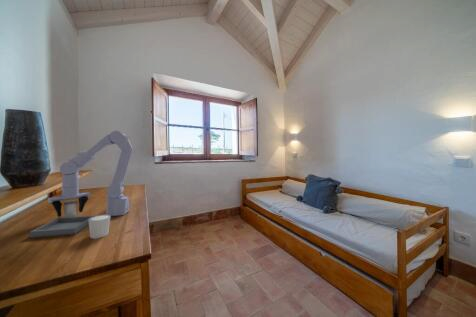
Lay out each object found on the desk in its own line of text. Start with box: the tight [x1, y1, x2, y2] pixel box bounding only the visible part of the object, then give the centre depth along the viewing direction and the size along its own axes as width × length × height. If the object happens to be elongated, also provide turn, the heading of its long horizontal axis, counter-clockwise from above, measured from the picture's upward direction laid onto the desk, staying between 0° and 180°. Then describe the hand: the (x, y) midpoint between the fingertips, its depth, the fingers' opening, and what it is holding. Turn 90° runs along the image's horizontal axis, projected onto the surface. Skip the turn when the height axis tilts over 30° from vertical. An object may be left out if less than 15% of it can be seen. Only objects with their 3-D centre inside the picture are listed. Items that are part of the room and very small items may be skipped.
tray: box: [29, 215, 96, 239], centre depth 71 cm, size 14×14×2 cm
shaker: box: [63, 200, 78, 217], centre depth 82 cm, size 5×5×8 cm
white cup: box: [88, 214, 111, 239], centre depth 66 cm, size 7×7×7 cm
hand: (70, 213), depth 82 cm, fingers open, 7 cm apart
